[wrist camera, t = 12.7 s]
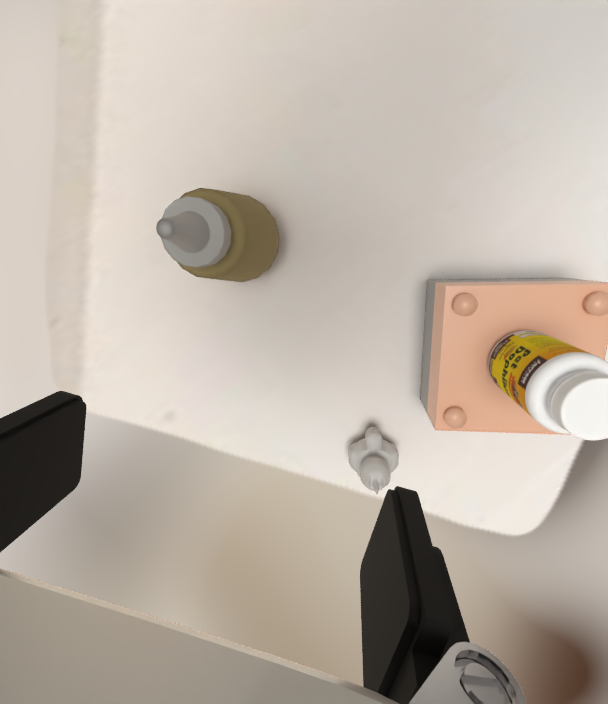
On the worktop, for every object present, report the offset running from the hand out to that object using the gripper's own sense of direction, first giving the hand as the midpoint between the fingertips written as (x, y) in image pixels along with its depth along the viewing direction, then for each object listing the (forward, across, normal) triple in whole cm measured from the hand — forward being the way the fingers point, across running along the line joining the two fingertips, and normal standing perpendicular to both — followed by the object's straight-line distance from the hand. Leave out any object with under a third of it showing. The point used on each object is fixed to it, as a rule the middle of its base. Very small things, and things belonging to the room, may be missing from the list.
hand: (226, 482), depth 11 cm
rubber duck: (+31, -10, +13) cm, 35 cm away
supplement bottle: (+23, -18, -2) cm, 29 cm away
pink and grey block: (+30, -18, -2) cm, 35 cm away
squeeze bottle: (+31, +9, -6) cm, 32 cm away
